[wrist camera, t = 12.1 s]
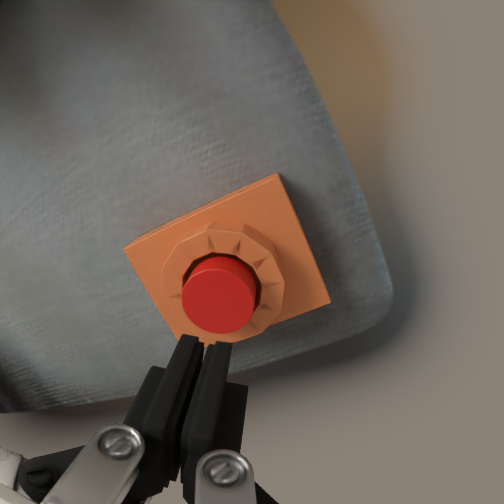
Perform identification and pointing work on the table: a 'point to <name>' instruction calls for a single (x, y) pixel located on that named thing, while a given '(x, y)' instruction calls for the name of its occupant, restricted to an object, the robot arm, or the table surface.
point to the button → (219, 295)
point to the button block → (238, 248)
